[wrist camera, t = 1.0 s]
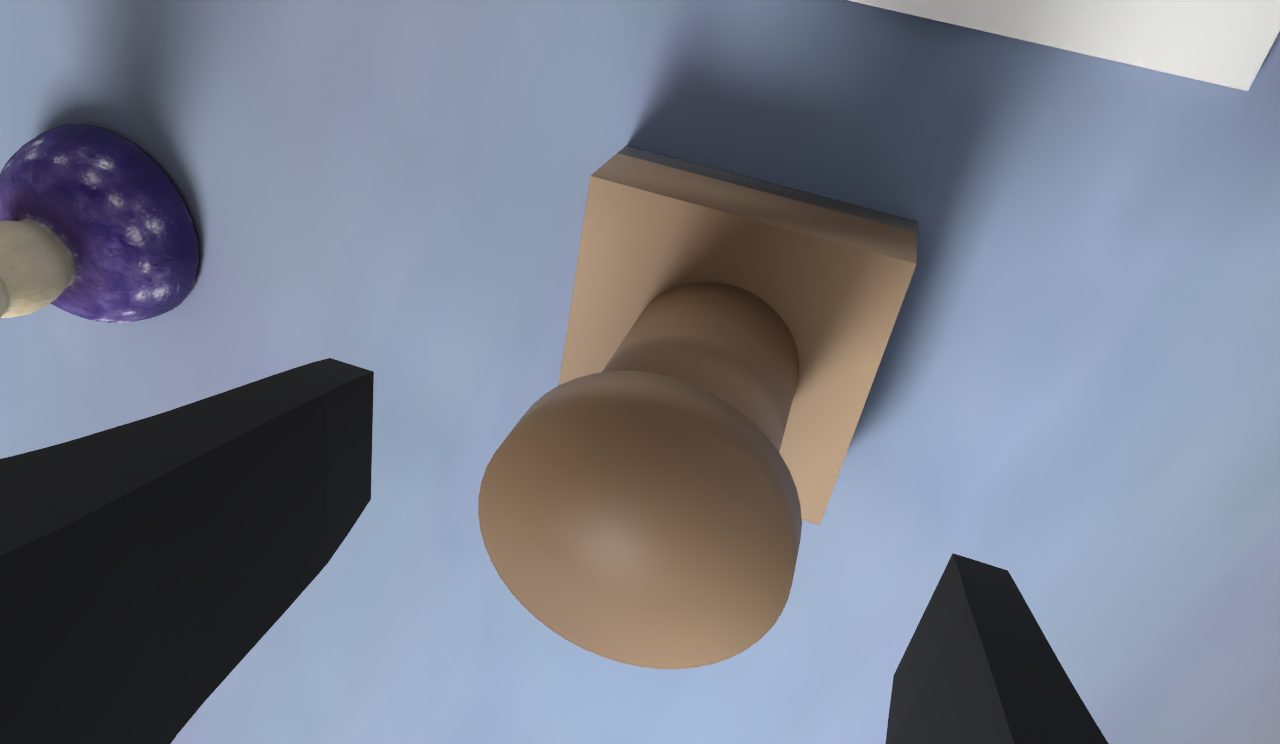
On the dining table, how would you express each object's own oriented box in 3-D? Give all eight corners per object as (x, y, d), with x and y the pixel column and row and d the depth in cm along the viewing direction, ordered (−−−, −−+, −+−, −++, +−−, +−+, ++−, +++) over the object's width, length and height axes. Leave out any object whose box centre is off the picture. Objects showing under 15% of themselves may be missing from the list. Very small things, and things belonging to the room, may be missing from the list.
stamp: (917, 220, 14) (913, 438, 9) (829, 461, 17) (782, 755, 11) (627, 144, 15) (445, 298, 9) (586, 386, 18) (423, 625, 12)
